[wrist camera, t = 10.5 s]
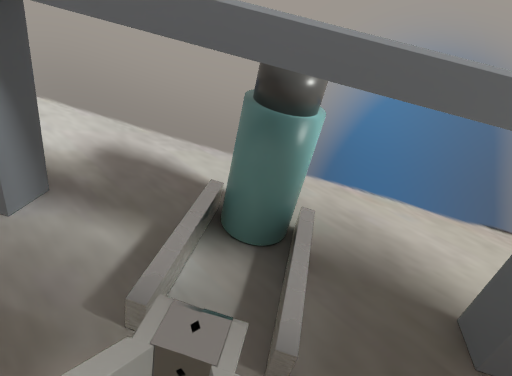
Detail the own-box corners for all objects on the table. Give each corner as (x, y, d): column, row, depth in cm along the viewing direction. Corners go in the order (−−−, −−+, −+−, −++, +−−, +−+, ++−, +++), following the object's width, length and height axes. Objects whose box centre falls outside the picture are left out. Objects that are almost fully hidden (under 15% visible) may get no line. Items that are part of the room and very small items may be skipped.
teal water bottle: (290, 213, 32) (339, 67, 25) (281, 254, 27) (339, 84, 20) (231, 195, 32) (262, 47, 25) (211, 232, 27) (242, 58, 20)
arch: (490, 330, 25) (692, 117, 16) (514, 382, 21) (787, 148, 13) (22, 181, 28) (-24, -68, 19) (-23, 206, 24) (-104, -82, 16)
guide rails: (306, 232, 30) (314, 210, 29) (285, 382, 18) (298, 357, 17) (207, 201, 31) (210, 179, 30) (124, 326, 19) (125, 298, 18)
